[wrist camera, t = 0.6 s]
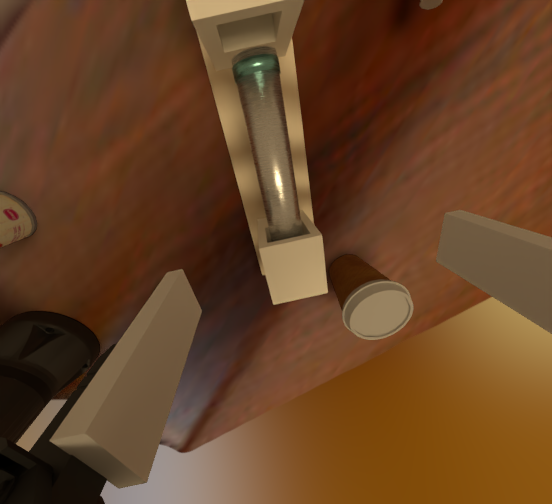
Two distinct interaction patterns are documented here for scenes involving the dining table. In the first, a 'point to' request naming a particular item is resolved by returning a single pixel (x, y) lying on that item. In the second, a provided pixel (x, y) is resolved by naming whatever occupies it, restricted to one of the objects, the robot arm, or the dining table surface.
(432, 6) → the pipe connector
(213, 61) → the socket
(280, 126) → the tube
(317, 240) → the sleeve
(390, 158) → the dining table surface
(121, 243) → the dining table surface
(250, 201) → the board
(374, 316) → the disposable coffee cup
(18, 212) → the aerosol can
